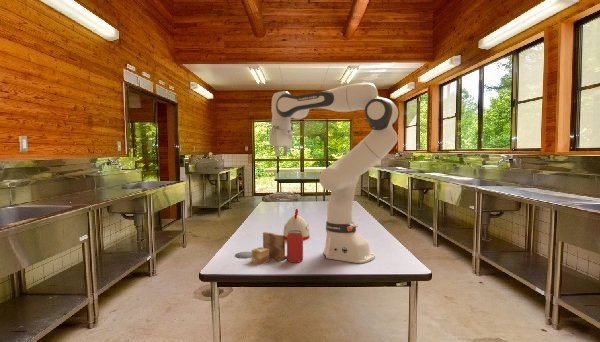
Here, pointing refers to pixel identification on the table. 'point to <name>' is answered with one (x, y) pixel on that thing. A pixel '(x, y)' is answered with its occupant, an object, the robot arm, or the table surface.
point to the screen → (275, 245)
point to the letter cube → (260, 255)
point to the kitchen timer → (297, 226)
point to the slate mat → (244, 255)
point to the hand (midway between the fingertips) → (281, 156)
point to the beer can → (294, 246)
